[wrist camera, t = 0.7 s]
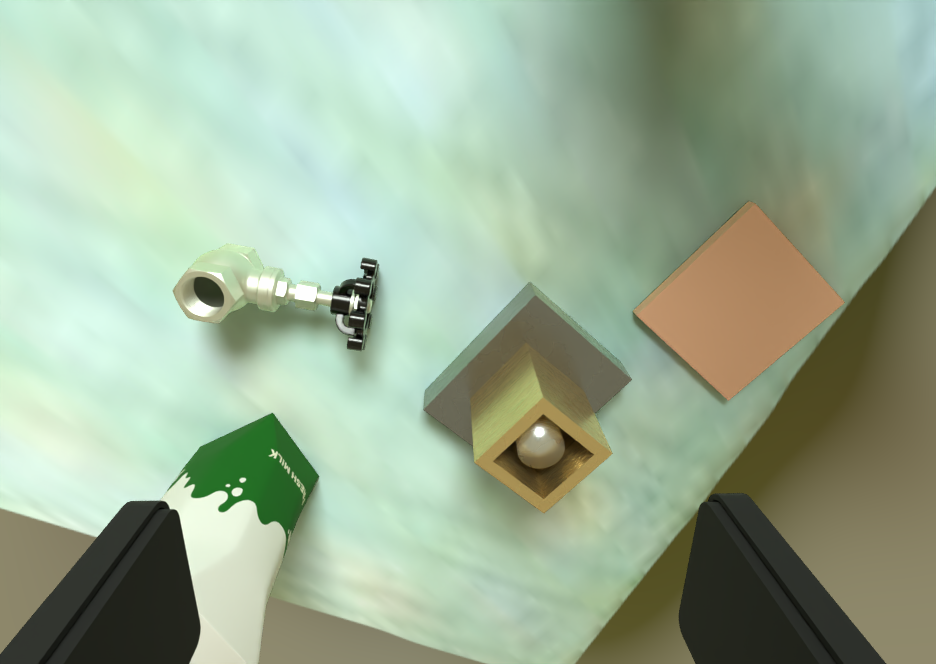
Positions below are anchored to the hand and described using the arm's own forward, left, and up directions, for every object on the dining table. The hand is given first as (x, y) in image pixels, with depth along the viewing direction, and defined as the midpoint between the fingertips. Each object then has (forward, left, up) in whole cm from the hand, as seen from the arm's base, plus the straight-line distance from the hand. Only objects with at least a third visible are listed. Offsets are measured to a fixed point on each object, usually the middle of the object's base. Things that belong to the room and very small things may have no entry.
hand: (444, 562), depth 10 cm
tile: (-9, +21, -32) cm, 39 cm away
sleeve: (+6, +13, -29) cm, 32 cm away
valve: (+11, -6, -32) cm, 35 cm away
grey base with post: (+6, +13, -32) cm, 35 cm away
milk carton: (+26, +2, -32) cm, 41 cm away
